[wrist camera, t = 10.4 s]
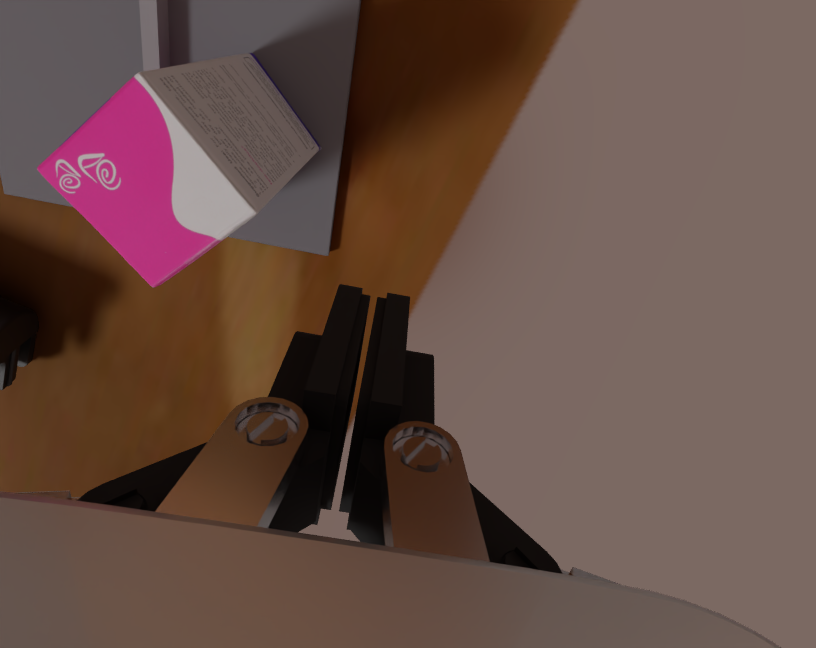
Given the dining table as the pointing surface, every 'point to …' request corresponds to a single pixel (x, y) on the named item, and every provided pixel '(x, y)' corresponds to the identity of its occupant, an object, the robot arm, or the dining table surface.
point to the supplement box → (181, 160)
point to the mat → (170, 46)
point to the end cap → (15, 339)
